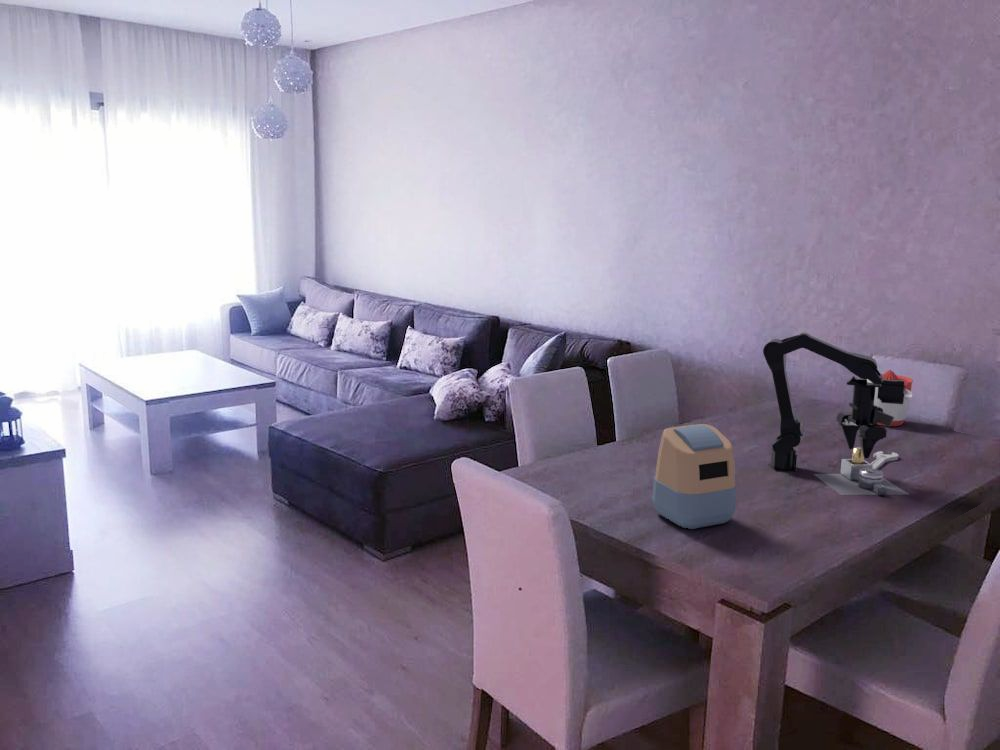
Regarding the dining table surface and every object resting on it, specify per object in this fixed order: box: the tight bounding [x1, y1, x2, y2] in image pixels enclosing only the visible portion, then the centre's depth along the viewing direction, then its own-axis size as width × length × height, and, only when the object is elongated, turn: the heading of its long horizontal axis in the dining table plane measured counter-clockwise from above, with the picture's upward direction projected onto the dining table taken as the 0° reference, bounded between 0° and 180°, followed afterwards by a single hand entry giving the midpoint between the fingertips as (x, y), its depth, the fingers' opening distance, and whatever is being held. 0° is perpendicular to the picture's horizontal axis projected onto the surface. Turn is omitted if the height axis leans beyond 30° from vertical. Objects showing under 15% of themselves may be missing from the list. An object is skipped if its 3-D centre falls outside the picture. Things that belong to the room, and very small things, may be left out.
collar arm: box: [840, 458, 888, 496], centre depth 227 cm, size 20×6×4 cm, turn 2°
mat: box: [813, 473, 909, 496], centre depth 229 cm, size 19×18×1 cm
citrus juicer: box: [865, 369, 914, 427], centre depth 294 cm, size 16×17×20 cm
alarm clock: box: [651, 423, 737, 530], centre depth 201 cm, size 17×17×23 cm
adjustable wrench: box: [870, 450, 899, 469], centre depth 248 cm, size 25×6×2 cm, turn 136°
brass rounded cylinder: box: [851, 446, 865, 464], centre depth 233 cm, size 3×3×8 cm
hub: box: [858, 468, 884, 491], centre depth 225 cm, size 6×6×5 cm
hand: (858, 453), depth 233 cm, fingers open, 9 cm apart
